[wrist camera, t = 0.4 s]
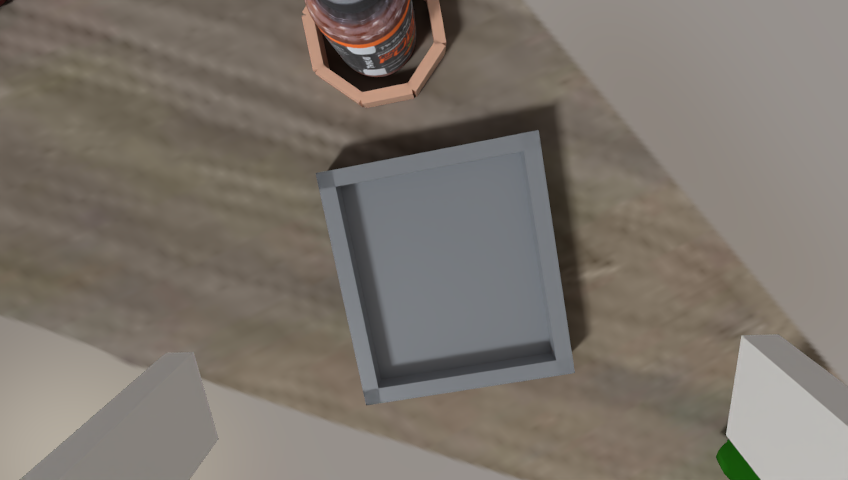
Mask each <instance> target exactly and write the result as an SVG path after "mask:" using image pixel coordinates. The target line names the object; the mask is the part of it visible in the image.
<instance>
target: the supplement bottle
mask: <svg viewBox="0 0 848 480" xmlns="http://www.w3.org/2000/svg"><path fill="white" fill-rule="evenodd" d="M305 3H306V6H307V9H308V11H309V14H310V16H311V17H312V19H313V21H314V22H315V24H316V25H317V26H318V28H319V29H320V30H321V32H322V33H323V34H324V36H325V37H326V38H327V39H328V41H329V42H330V43H331V45H332V46H333V47H334V48H335V50H336V51H337V52H338V54H339V55H340V56H341V57H342V59H343V60H344V61H345V62H346V63H347V64H348V65H349V66H350V67H351V68H352V69H353V70H355V71H356V72H358V73H360V74H362V75H366V76H370V77H383V76H387V75H390V74H393V73H395V72H396V71H398V70H399V69H400V68H402V67H403V66H404V65H405V64H406V62H407V61H408V60H409V58H410V57H411V55H412V53H413V50H414V47H415V42H416V23H415V16H414V10H415V9H414V10H413V4H412V0H305Z"/></svg>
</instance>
